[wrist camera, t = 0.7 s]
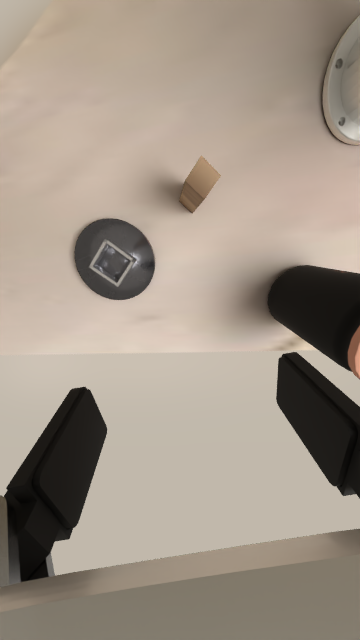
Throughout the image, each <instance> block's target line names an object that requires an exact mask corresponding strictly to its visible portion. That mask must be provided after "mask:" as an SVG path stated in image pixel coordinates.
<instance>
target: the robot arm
mask: <svg viewBox="0 0 360 640" xmlns="http://www.w3.org/2000/svg"><path fill="white" fill-rule="evenodd" d="M323 110H324V116H325V119H326V122H327V125H328V127H329V128H330V130H331V132H332V133H333V134H334V135H335V136H336V137H337V138H338V139H339V140H341V141H343V142H345V143H348V144H352V145H359V144H360V15H359V16H358V17H357V18H356V19H355V21H354V22H353V23H352V24H351V25H350V26H349V28H348V29H347V30H346V32H345V33H344V35H343V36H342V37H341V39H340V41H339V42H338V44H337V46H336V48H335V50H334V52H333V54H332V57H331V59H330V62H329V64H328V68H327V71H326V75H325V79H324V86H323ZM276 399H277V404H278V406H279V407H280V409H281V410H282V412H283V413H284V415H285V416H286V418H287V419H288V421H289V422H290V424H291V425H292V427H293V428H294V430H295V431H296V433H297V434H298V436H299V437H300V439H301V440H302V442H303V443H304V445H305V446H306V448H307V449H308V451H309V452H310V454H311V455H312V457H313V458H314V460H315V461H316V463H317V464H318V466H319V467H320V469H321V470H322V472H323V473H324V475H325V476H326V478H327V479H328V481H329V482H330V483H331V484H332V485H333V486H337V488H338V489H339V490H340V492H341V494H342V495H343V496H346V495H352V494H357V495H358V497H359V498H360V407H359V406H358V405H357V404H355V403H354V402H353V401H352V400H351V399H350V398H349V397H348V396H346V395H345V394H344V393H343V392H342V391H341V390H339V389H338V388H337V387H336V386H335V385H334V384H333V383H331V382H330V381H329V380H328V379H327V378H326V377H325V376H323V375H322V374H321V373H320V372H319V371H318V370H316V369H315V368H314V367H313V366H312V365H311V364H310V363H308V362H307V361H306V360H305V359H304V358H303V357H301V356H300V355H299V354H298V353H296V352H292V353H286V354H283V355H282V357H281V358H279V363H278V380H277V397H276ZM106 434H107V427H106V424H105V422H104V420H103V418H102V415H101V413H100V411H99V409H98V407H97V404H96V403H95V400H94V398H93V395H92V393H91V391H90V390H89V389H88V390H87V388H86V387H81V388H74V389H72V390H71V391H70V392H69V393H68V395H67V397H66V398H65V399H64V401H63V402H62V404H61V406H60V407H59V409H58V410H57V412H56V413H55V415H54V416H53V418H52V419H51V421H50V422H49V424H48V425H47V427H46V428H45V430H44V431H43V433H42V434H41V436H40V437H39V439H38V440H37V442H36V443H35V445H34V447H33V448H32V450H31V451H30V453H29V454H28V456H27V457H26V459H25V460H24V462H23V464H22V465H21V466H20V468H19V469H18V471H17V472H16V474H15V475H14V477H13V479H12V480H11V482H10V484H9V485H8V486H7V490H8V491H7V492H6V494H5V495H4V497H3V496H0V640H360V529H354V530H346V531H338V532H331V533H323V534H317V535H310V536H303V537H297V538H290V539H283V540H277V541H271V542H263V543H256V544H250V545H243V546H237V547H231V548H224V549H218V550H212V551H205V552H198V553H192V554H185V555H179V556H173V557H167V558H160V559H154V560H148V561H141V562H136V563H129V564H124V565H116V566H111V567H104V568H98V569H92V570H86V571H79V572H73V573H68V574H62V575H57V576H55V574H54V569H53V563H52V558H51V549H52V547H53V544H54V542H55V541H60V540H66V539H69V538H70V535H71V533H72V530H73V528H74V527H75V526H76V525H77V524H78V521H79V519H80V516H81V512H82V509H83V506H84V503H85V500H86V497H87V493H88V491H89V487H90V484H91V481H92V478H93V475H94V472H95V469H96V466H97V462H98V459H99V456H100V453H101V450H102V447H103V444H104V440H105V438H106Z"/></svg>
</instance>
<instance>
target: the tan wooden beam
mask: <svg viewBox="0 0 360 640" xmlns="http://www.w3.org/2000/svg"><path fill="white" fill-rule="evenodd" d="M220 176H221V175H220V174H219V173H218V172H217V171H216V170H215V169H214V168H213V167H212V166H211V165H210V164H209V163H208V162H207V161H206V160H205V159H204V158H203V157H202V156H201V157H200V158H199V160H198V162H197V163H196V165H195V166H194V168H193V169H192V171H191V172H190V174H189V175H188V177H187V178H186V180H185V183H184V186H183V190H182V193H181V197H180V200H179V201H180V202H181V203H182V204H183V205H184V206H185V207H186V208H187V209H188V210H189V211H191V212H192V213H193V212H194V211H195V210H196V208H197V207H198V206H199V205H200V204H201V203H202V201H203V200H204V199H205V198H206V196H207V195H208V193H209V192H210V191H211V189H212V188H213V186H214V185H215V183H216V182H217V180H218V179H219V178H220Z"/></svg>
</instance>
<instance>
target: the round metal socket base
mask: <svg viewBox="0 0 360 640" xmlns="http://www.w3.org/2000/svg"><path fill="white" fill-rule="evenodd" d="M75 263H76V267H77V270H78V272H79V274H80V276H81V278H82V279H83V281H84V282H85V283H86V284H87V286H88V287H90V288H91V289H92V290H93V291H94V292H96V293H97V294H99V295H101V296H103V297H106V298H109V299H114V300H125V299H130V298H133V297H135V296H137V295H139V294H140V293H141V292H143V291H144V290H145V289H146V287H147V286H148V285H149V283H150V281H151V279H152V277H153V274H154V269H155V257H154V253H153V249H152V247H151V245H150V243H149V241H148V240H147V238H146V237H145V235H144V234H143V233H142V232H141V231H140V230H139V229H137V228H136V227H134V226H133V225H131V224H129V223H127V222H124V221H122V220H118V219H102V220H98V221H96V222H93V223H92V224H90V225H89V226H87V227H86V228H85V229H84V230H83V231H82V233H81V234H80V236H79V238H78V240H77V242H76V246H75Z"/></svg>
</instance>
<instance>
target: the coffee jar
mask: <svg viewBox="0 0 360 640" xmlns="http://www.w3.org/2000/svg"><path fill="white" fill-rule="evenodd" d="M268 306H269V310H270V313H271V314H272V316H273V317H274V318H275V319H276V320H277V321H279V322H280V323H281V324H283V325H284V326H286V327H287V328H288V329H290V330H291V331H293V332H294V333H295V334H297V335H298V336H300V337H301V338H302V339H304V340H305V341H307V342H308V343H309V344H311V345H312V346H314V347H315V348H316V349H318V350H319V351H321V352H322V353H323V354H325V355H326V356H328V357H329V358H330V359H332V360H333V361H335V362H336V363H337V364H339V365H340V366H342V367H344V368H345V369H347V370H349V371H352V372H353V373H354V375H355V376H357V377H358V378H359V379H360V274H358V273H352V272H346V271H340V270H334V269H328V268H322V267H316V266H310V265H305V266H297V267H295V268H293V269H290V270H288V271H286V272H285V273H284V274H282V275H281V276H280V277H279V278H278V279H277V280H276V281H275V283H274V284H273V285H272V288H271V290H270V292H269V297H268Z"/></svg>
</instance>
